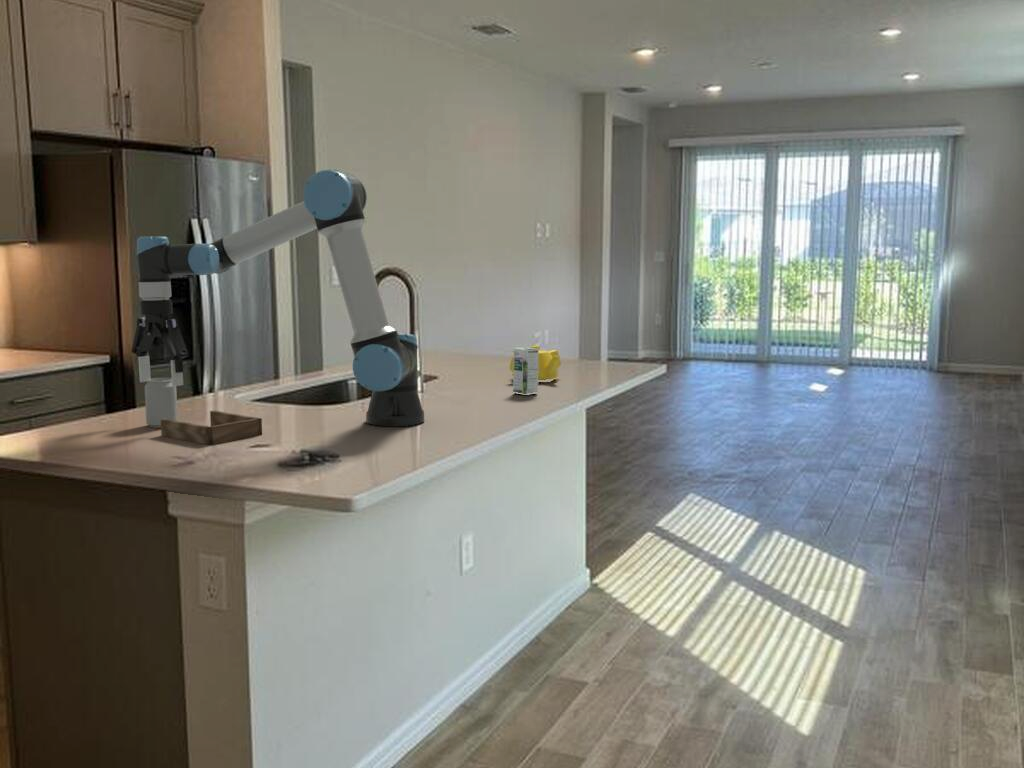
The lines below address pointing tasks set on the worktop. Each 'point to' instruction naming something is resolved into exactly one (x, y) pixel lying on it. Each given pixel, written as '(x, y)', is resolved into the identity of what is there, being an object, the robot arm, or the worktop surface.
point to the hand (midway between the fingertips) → (161, 383)
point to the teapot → (544, 363)
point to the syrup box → (525, 370)
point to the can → (160, 401)
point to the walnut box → (214, 428)
